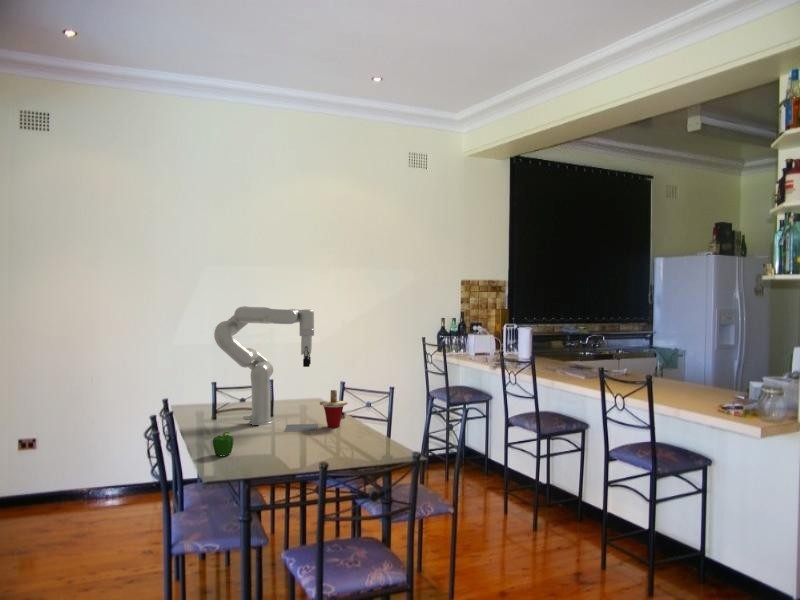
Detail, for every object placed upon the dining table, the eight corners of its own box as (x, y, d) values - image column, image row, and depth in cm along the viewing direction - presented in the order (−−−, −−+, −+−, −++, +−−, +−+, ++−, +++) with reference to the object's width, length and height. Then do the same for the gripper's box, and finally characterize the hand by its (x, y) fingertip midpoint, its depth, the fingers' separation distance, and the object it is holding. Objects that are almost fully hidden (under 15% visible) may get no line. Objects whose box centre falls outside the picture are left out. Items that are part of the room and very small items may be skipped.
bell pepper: (212, 458, 251) (212, 434, 251) (213, 453, 259) (212, 430, 259) (233, 457, 254) (233, 433, 254) (233, 452, 262) (233, 429, 261)
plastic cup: (346, 425, 312) (346, 402, 311) (342, 430, 301) (342, 406, 301) (325, 425, 313) (325, 402, 312) (320, 430, 302) (320, 406, 302)
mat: (284, 433, 295) (284, 431, 295) (287, 425, 311) (287, 424, 311) (317, 432, 297) (317, 431, 297) (318, 425, 313) (318, 423, 313)
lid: (319, 405, 299) (319, 391, 299) (320, 402, 313) (320, 389, 313) (347, 405, 300) (347, 391, 301) (347, 402, 314) (347, 389, 315)
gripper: (300, 331, 325) (300, 363, 325) (298, 334, 307) (298, 367, 308) (314, 331, 325) (314, 363, 326) (313, 334, 308) (313, 367, 308)
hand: (306, 365), depth 317 cm, fingers open, 9 cm apart
